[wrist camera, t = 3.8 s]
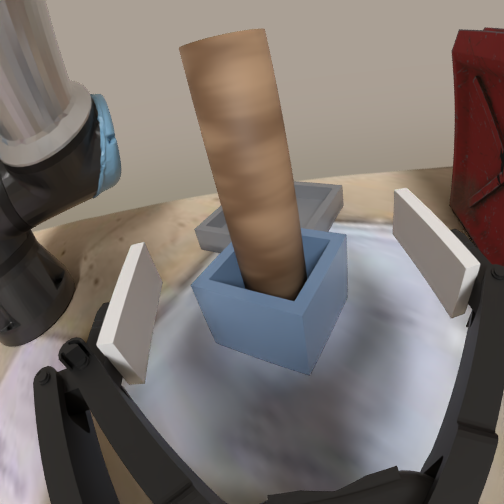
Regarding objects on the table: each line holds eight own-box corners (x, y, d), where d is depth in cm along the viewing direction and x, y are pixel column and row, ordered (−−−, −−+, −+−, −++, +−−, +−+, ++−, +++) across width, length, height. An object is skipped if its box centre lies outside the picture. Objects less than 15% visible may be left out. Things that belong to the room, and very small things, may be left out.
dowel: (243, 325, 28) (161, 53, 15) (270, 288, 31) (213, 42, 18) (296, 341, 25) (233, 30, 12) (319, 299, 28) (279, 27, 16)
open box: (215, 342, 28) (190, 285, 24) (264, 278, 34) (250, 221, 30) (309, 375, 23) (302, 316, 19) (347, 296, 29) (346, 234, 25)
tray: (201, 249, 41) (194, 229, 39) (255, 196, 50) (251, 178, 48) (304, 269, 33) (301, 246, 32) (343, 205, 42) (342, 185, 41)
